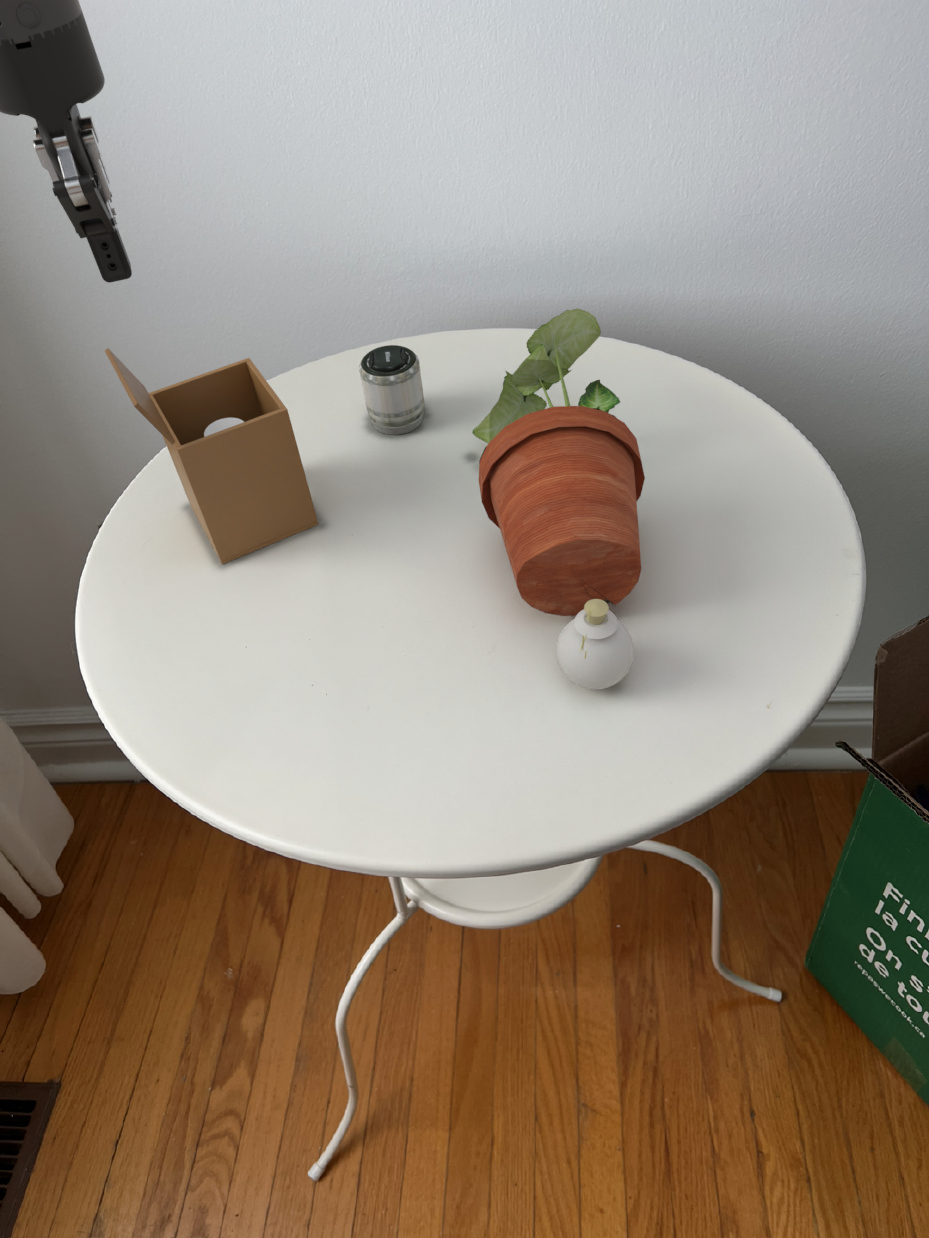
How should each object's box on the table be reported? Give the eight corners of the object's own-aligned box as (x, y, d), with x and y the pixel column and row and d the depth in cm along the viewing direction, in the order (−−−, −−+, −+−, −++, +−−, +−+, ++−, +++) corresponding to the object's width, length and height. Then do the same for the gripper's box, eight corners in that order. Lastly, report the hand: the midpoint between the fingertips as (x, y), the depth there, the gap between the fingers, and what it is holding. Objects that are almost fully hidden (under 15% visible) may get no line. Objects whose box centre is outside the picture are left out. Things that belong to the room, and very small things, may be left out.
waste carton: (222, 564, 87) (177, 450, 77) (191, 506, 93) (145, 393, 83) (318, 524, 90) (287, 409, 80) (282, 471, 96) (249, 357, 86)
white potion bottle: (640, 656, 75) (648, 570, 68) (615, 727, 71) (621, 643, 64) (569, 639, 77) (569, 553, 70) (541, 707, 73) (538, 623, 65)
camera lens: (372, 441, 98) (359, 377, 92) (367, 407, 102) (355, 345, 96) (430, 432, 98) (421, 368, 92) (423, 398, 102) (414, 335, 97)
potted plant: (668, 631, 79) (604, 374, 100) (676, 509, 67) (602, 246, 88) (488, 655, 80) (463, 395, 101) (465, 539, 68) (441, 272, 89)
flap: (175, 442, 77) (172, 445, 77) (144, 386, 83) (141, 389, 83) (137, 403, 73) (133, 406, 73) (107, 347, 79) (104, 350, 79)
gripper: (-36, 0, 62) (68, 250, 74) (-50, 56, 53) (70, 329, 66) (78, -19, 63) (160, 231, 75) (82, 33, 54) (175, 305, 67)
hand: (118, 276), depth 70 cm, fingers closed
